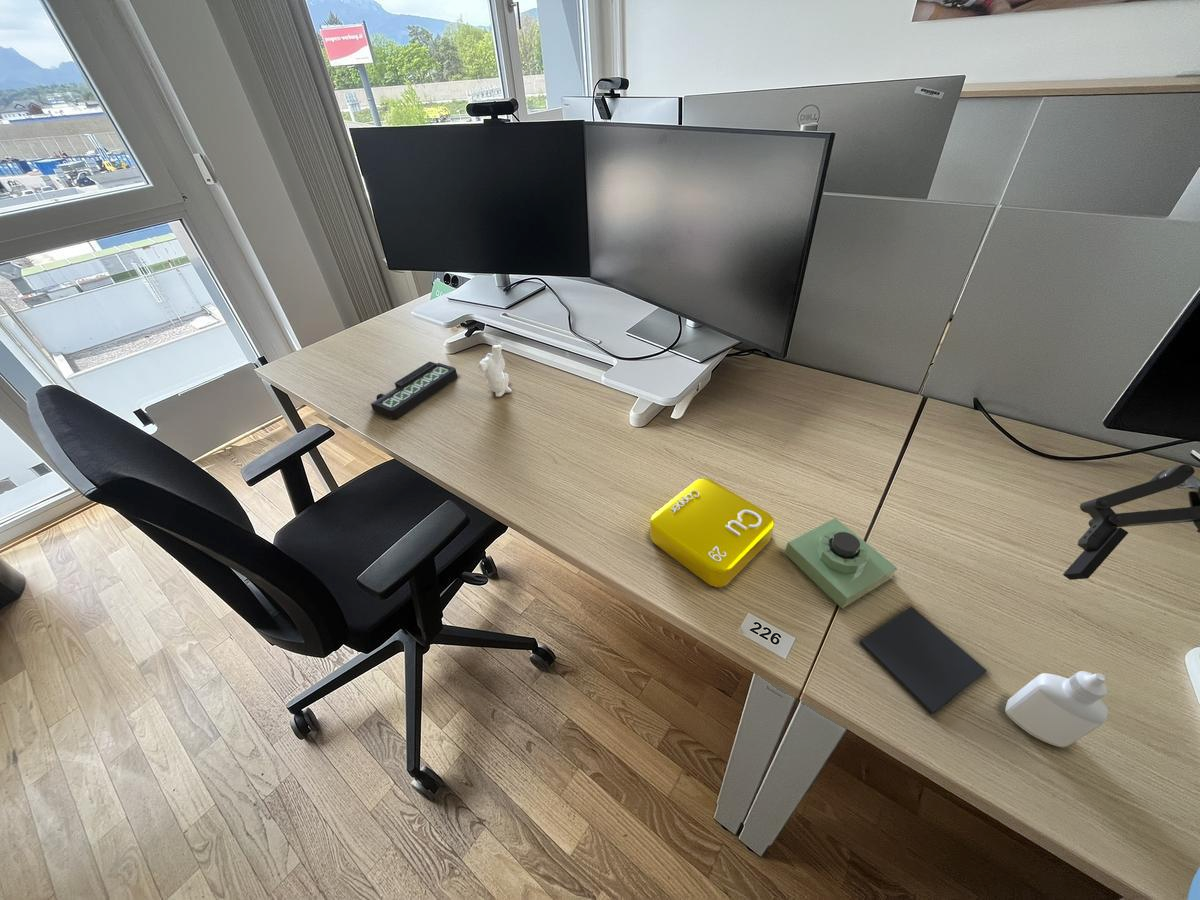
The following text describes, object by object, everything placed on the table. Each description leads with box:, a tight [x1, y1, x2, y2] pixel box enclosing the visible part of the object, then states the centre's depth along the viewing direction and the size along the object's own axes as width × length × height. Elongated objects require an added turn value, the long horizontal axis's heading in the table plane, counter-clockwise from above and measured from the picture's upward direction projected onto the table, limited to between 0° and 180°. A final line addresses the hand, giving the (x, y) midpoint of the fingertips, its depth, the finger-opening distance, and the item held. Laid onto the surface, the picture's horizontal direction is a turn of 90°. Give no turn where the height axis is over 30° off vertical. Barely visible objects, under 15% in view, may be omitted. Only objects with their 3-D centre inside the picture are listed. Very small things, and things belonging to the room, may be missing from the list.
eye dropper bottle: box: [1004, 670, 1109, 748], centre depth 49 cm, size 4×6×12 cm
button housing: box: [784, 517, 898, 609], centre depth 69 cm, size 11×10×4 cm
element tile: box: [649, 477, 775, 588], centre depth 74 cm, size 15×15×5 cm
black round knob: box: [830, 532, 860, 559], centre depth 67 cm, size 4×4×2 cm
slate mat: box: [859, 606, 988, 715], centre depth 59 cm, size 10×10×1 cm
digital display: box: [370, 361, 459, 420], centre depth 116 cm, size 21×3×10 cm
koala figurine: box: [477, 342, 512, 398], centre depth 110 cm, size 8×7×12 cm
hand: (1148, 627), depth 46 cm, fingers open, 13 cm apart
